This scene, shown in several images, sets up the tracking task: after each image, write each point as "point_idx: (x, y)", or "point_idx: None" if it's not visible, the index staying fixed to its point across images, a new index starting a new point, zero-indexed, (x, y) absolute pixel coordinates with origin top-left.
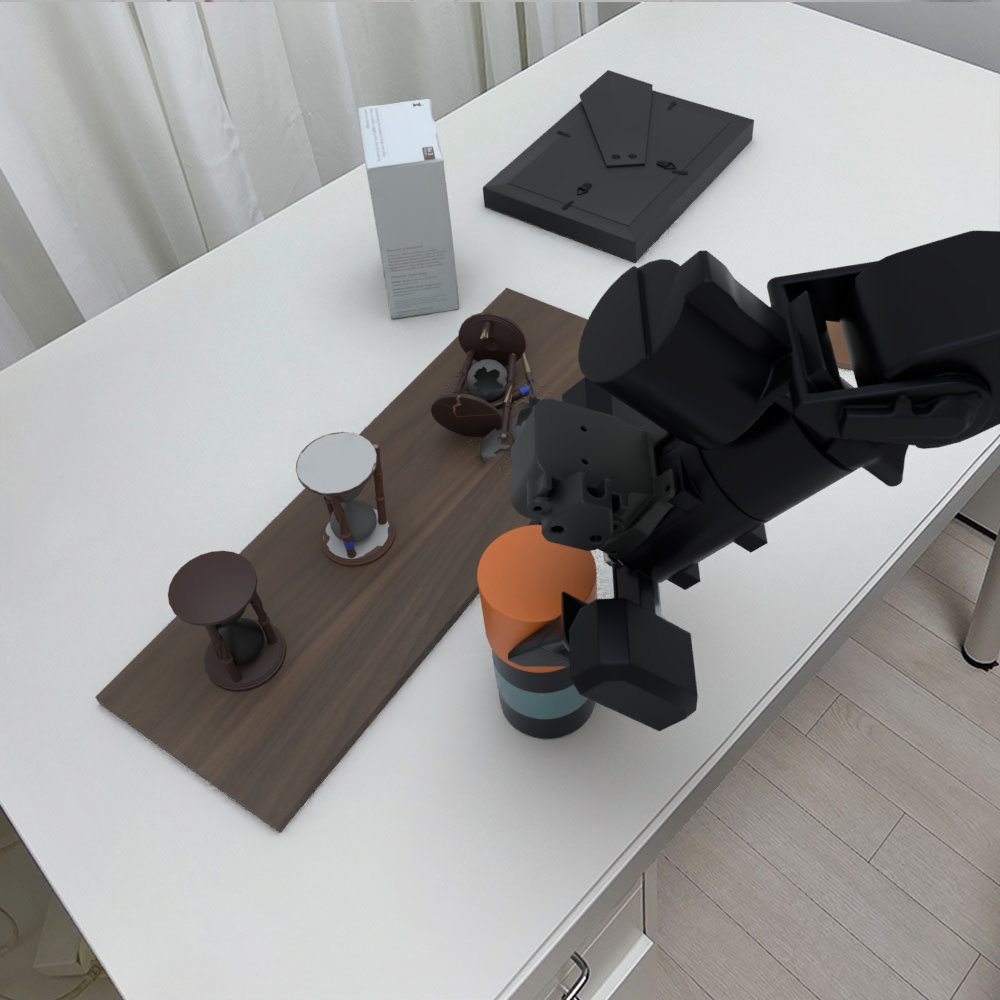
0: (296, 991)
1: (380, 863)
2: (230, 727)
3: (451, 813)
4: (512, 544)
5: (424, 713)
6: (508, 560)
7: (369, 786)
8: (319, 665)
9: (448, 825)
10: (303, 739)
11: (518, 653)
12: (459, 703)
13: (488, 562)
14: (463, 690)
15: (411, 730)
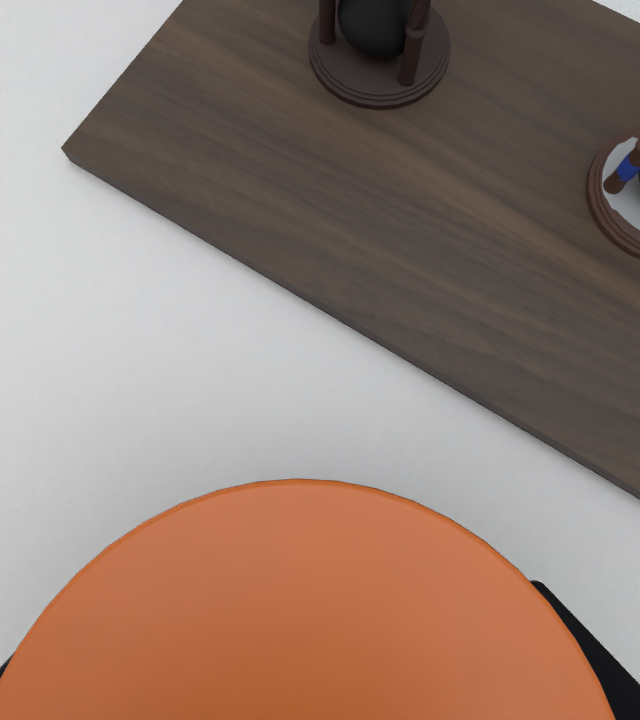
0: None
1: (4, 319)
2: (242, 51)
3: (81, 429)
4: (484, 670)
5: (279, 364)
6: (369, 652)
7: (141, 285)
8: (363, 167)
9: (60, 426)
10: (216, 163)
11: (4, 664)
12: (300, 427)
13: (359, 536)
14: (327, 433)
15: (245, 344)
